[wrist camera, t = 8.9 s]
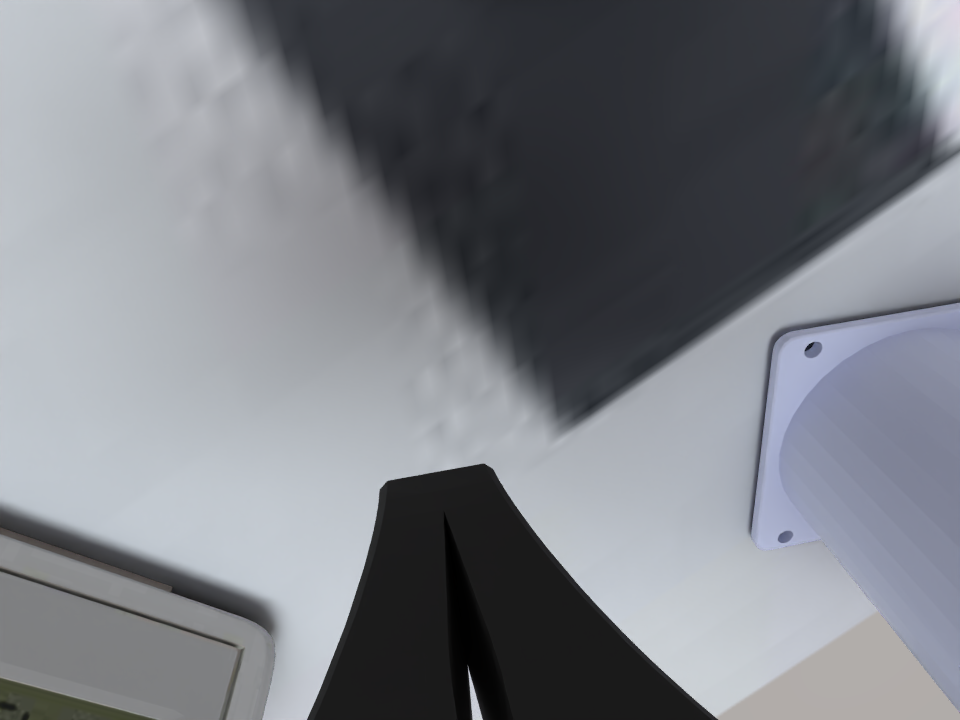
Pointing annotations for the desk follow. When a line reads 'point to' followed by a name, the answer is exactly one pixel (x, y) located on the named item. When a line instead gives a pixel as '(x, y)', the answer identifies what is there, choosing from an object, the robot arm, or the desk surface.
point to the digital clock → (119, 644)
